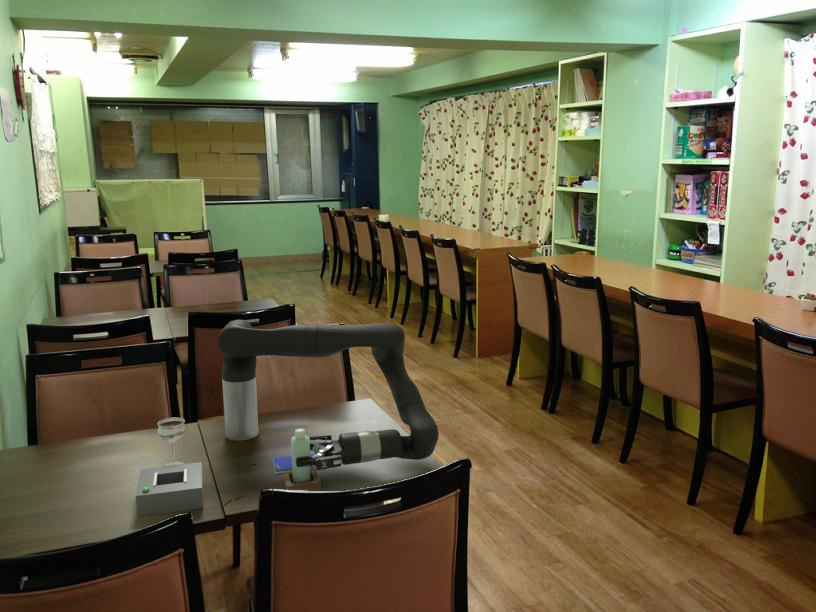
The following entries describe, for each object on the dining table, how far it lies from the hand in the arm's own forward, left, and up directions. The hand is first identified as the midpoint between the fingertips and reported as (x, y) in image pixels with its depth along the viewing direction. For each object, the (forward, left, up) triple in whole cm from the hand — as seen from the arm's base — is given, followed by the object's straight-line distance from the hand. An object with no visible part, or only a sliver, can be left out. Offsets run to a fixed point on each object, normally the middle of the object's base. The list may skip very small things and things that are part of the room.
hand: (293, 455), depth 165 cm
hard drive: (-12, +2, -9) cm, 15 cm away
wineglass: (-20, -28, -8) cm, 36 cm away
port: (-2, -28, -8) cm, 29 cm away
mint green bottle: (0, +2, -8) cm, 8 cm away
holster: (0, +2, -8) cm, 8 cm away
